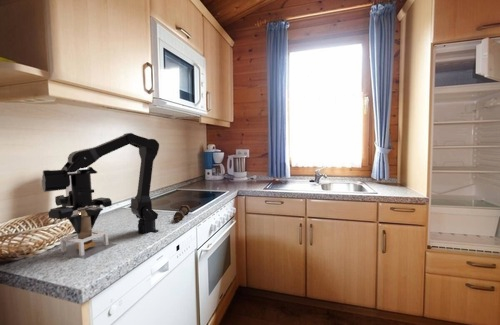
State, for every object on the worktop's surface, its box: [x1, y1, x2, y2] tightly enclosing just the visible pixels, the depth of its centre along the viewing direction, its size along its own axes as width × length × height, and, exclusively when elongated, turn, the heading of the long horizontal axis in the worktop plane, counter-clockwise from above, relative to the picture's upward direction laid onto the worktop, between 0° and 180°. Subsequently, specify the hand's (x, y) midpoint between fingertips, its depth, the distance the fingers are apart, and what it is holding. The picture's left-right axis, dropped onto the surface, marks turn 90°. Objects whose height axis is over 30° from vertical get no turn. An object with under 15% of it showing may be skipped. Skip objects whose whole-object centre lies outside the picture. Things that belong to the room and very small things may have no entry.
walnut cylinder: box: [77, 216, 93, 244], centre depth 87 cm, size 4×4×9 cm
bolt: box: [172, 204, 191, 223], centre depth 125 cm, size 6×5×15 cm
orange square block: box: [76, 240, 96, 250], centre depth 88 cm, size 4×4×2 cm
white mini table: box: [52, 229, 118, 260], centre depth 88 cm, size 12×16×6 cm
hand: (84, 231), depth 87 cm, fingers closed on walnut cylinder, 4 cm apart
